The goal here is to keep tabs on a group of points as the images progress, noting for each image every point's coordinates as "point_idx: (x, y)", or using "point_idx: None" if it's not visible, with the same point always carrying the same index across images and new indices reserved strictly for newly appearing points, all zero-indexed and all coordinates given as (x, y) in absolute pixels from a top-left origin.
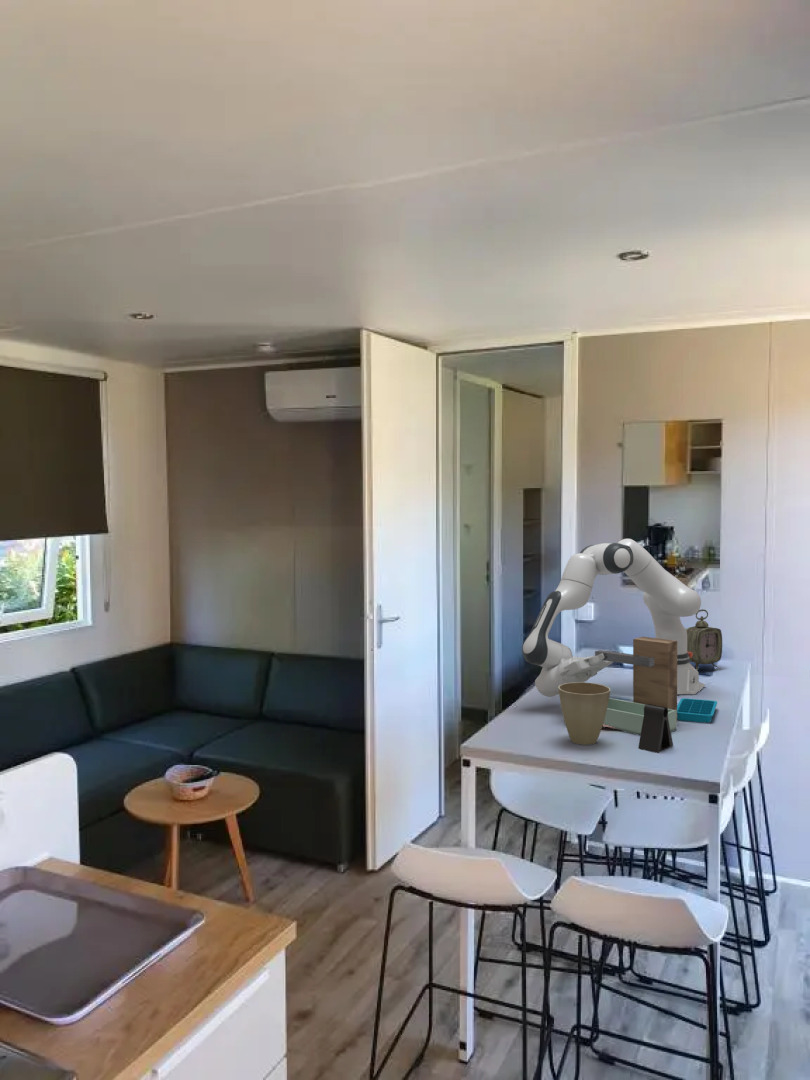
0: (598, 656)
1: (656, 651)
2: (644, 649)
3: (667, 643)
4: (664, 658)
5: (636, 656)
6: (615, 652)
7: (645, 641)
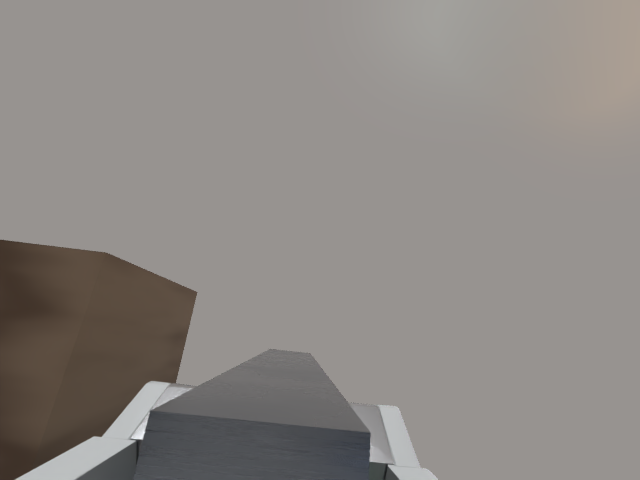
0: (412, 475)
1: (167, 330)
2: (134, 326)
3: (196, 292)
4: (175, 357)
5: (297, 356)
6: (255, 368)
7: (151, 278)
